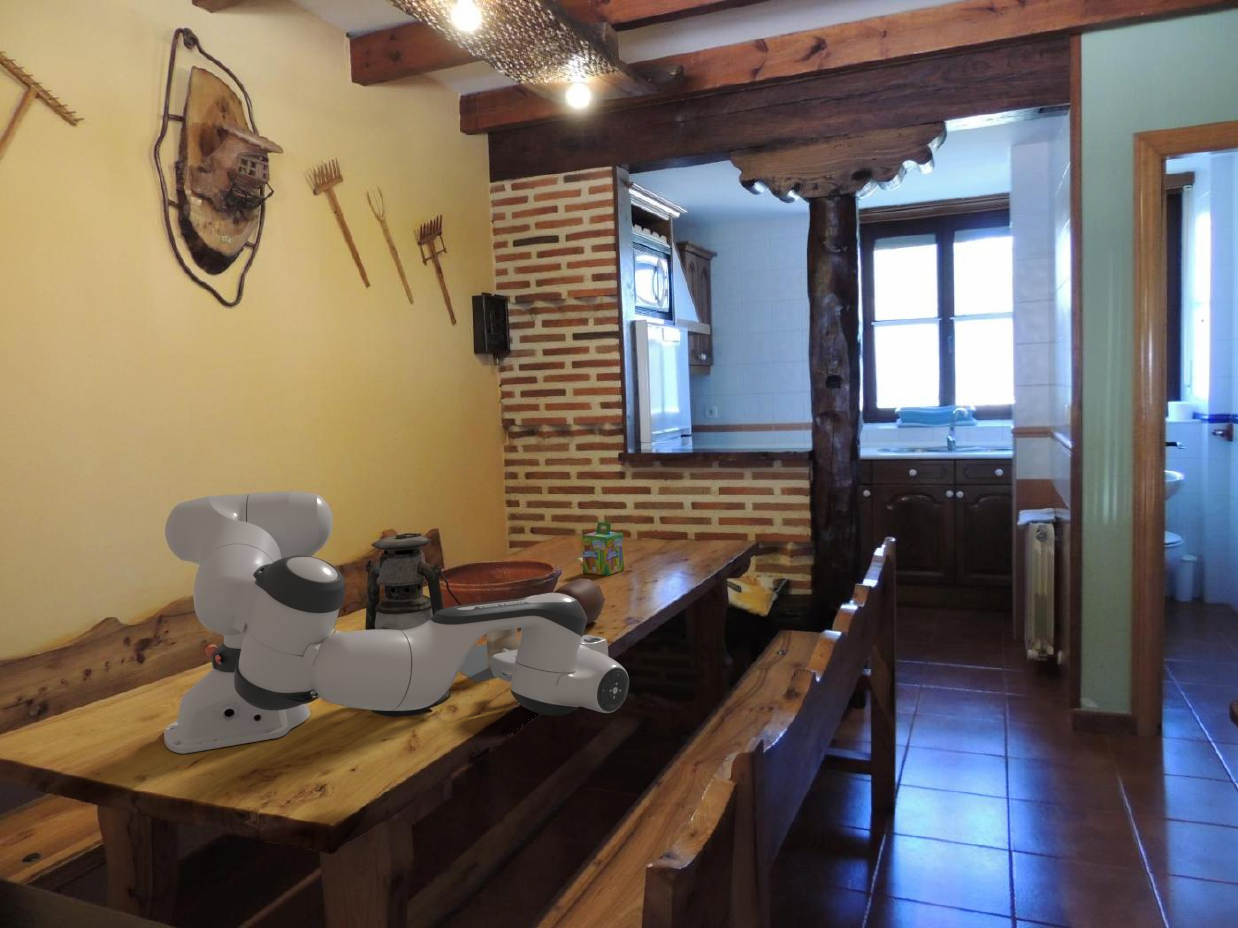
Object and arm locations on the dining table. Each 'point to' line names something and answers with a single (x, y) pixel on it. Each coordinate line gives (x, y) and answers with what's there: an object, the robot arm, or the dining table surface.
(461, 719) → the dining table surface
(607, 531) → the chalk box
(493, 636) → the wooden block
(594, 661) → the robot arm
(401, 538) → the lantern
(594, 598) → the meat
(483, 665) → the mat
